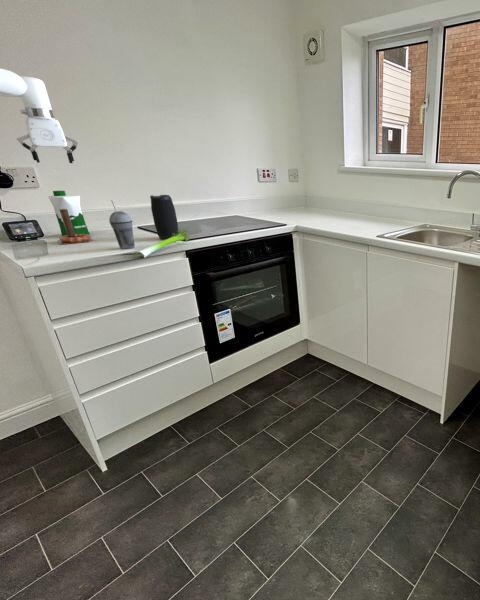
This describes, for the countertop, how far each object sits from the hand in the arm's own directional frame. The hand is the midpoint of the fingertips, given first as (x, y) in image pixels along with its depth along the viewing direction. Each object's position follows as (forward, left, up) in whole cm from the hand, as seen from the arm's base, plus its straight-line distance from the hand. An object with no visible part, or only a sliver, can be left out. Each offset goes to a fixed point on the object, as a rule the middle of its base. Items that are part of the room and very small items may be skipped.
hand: (55, 162), depth 140 cm
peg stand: (-2, -2, -32) cm, 32 cm away
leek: (+24, -34, -32) cm, 53 cm away
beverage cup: (+12, -28, -32) cm, 45 cm away
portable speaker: (+31, -12, -32) cm, 46 cm away
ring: (-1, -2, -30) cm, 30 cm away
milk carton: (+1, +19, -32) cm, 38 cm away
